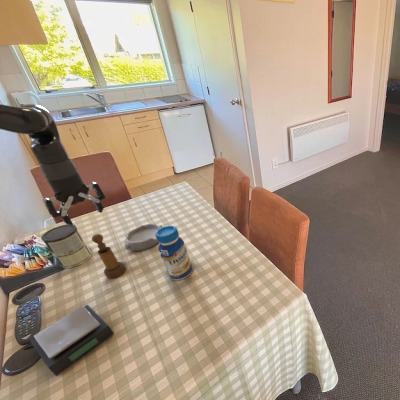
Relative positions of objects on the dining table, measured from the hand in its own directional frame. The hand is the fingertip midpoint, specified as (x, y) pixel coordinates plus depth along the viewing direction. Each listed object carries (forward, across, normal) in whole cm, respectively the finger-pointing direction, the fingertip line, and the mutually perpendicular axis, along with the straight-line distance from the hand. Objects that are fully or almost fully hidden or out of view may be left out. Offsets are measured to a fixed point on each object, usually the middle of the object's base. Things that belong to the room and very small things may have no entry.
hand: (86, 217), depth 89 cm
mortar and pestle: (+26, 0, 0) cm, 26 cm away
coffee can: (+26, +5, -22) cm, 34 cm away
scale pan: (+21, +20, +20) cm, 35 cm away
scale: (+26, +20, +20) cm, 38 cm away
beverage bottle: (+26, -13, +22) cm, 36 cm away
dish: (+26, -16, -9) cm, 32 cm away
